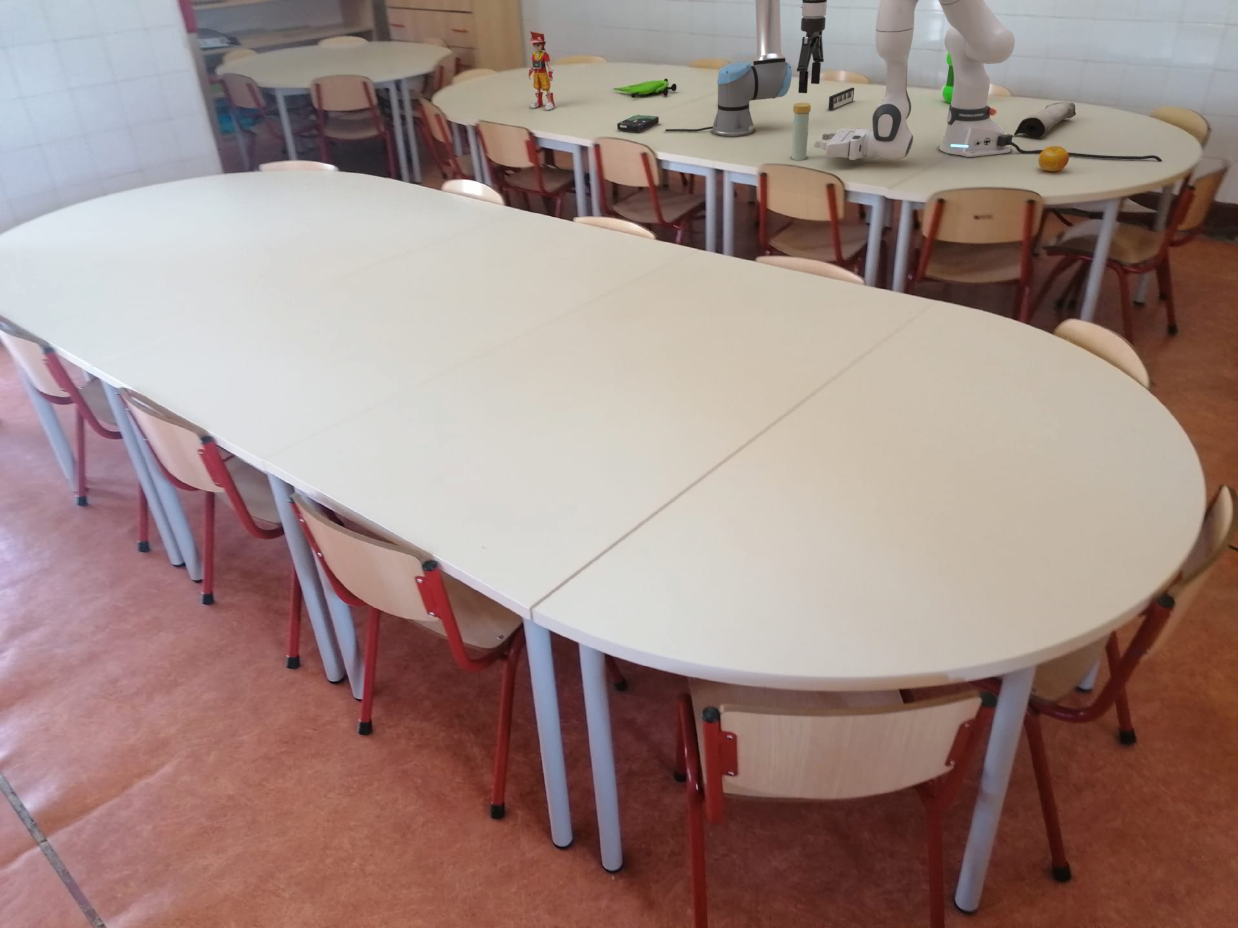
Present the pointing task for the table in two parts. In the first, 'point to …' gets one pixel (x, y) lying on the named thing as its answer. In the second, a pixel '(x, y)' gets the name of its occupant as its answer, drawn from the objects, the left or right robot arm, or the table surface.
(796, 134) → the jar
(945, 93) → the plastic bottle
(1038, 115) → the rolled mat
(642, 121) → the disk drive
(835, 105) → the midi keyboard
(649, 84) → the toy
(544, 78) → the toy
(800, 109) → the lid
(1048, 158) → the fruit
